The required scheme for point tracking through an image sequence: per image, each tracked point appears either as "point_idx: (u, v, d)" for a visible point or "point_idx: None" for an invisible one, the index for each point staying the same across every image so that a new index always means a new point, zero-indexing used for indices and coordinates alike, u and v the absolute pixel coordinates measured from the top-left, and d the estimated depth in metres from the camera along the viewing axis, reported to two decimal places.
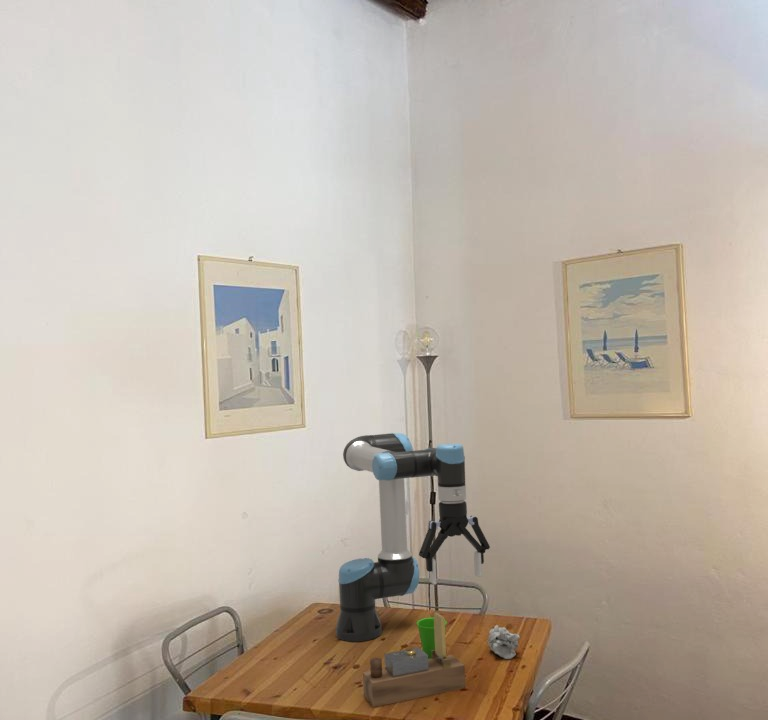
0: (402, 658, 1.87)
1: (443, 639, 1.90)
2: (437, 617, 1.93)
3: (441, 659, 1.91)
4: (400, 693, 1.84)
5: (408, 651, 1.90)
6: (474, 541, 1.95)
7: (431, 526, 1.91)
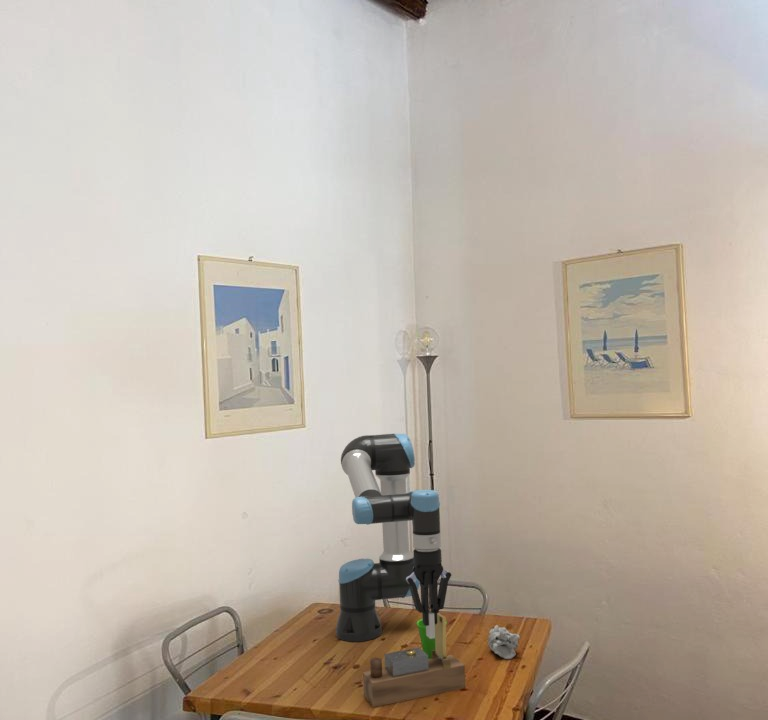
0: (402, 658, 1.87)
1: (444, 639, 1.90)
2: (438, 617, 1.93)
3: (441, 659, 1.91)
4: (400, 693, 1.84)
5: (408, 651, 1.90)
6: (435, 597, 1.91)
7: (408, 583, 1.90)
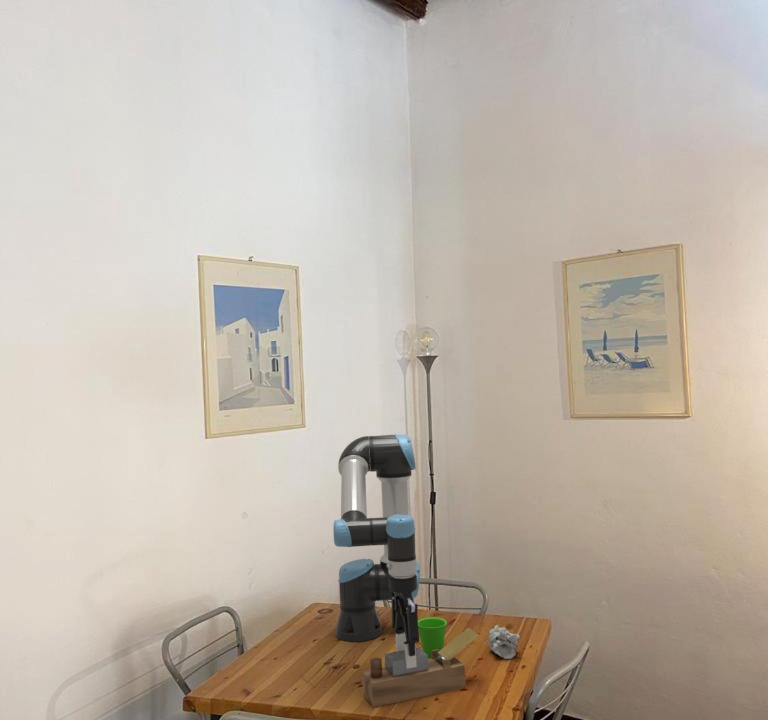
0: (402, 658, 1.87)
1: (461, 647, 1.92)
2: (471, 631, 1.96)
3: (443, 657, 1.91)
4: (400, 693, 1.84)
5: None
6: (405, 627, 1.86)
7: None
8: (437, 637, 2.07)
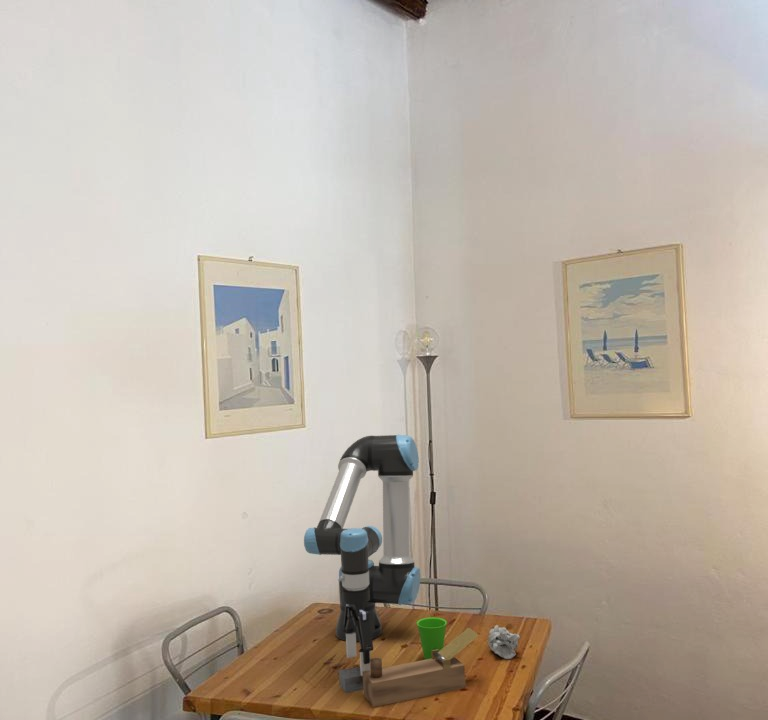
0: (355, 675, 1.93)
1: (461, 647, 1.92)
2: (471, 631, 1.96)
3: (443, 657, 1.91)
4: (400, 693, 1.84)
5: None
6: (358, 636, 1.90)
7: None
8: (437, 637, 2.07)
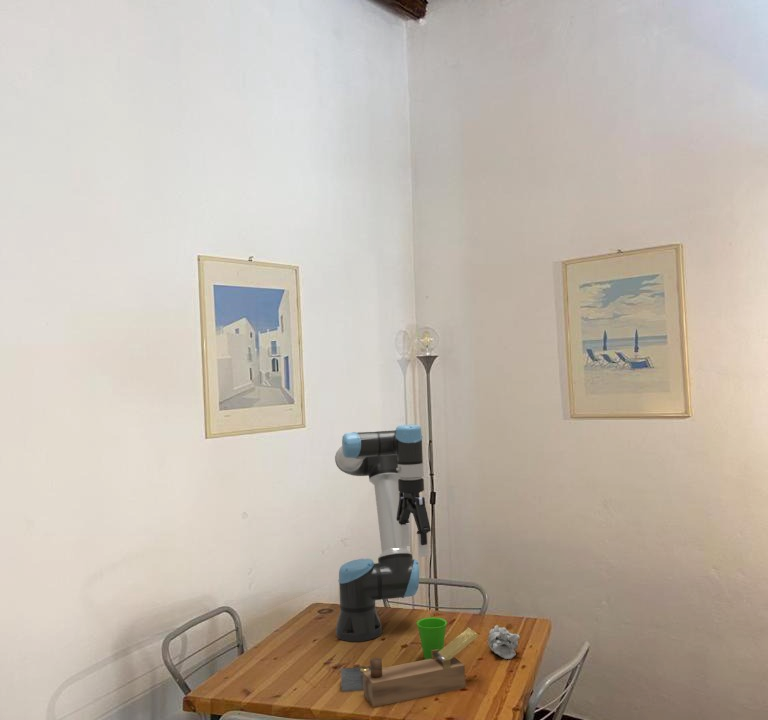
0: (353, 674, 1.93)
1: (461, 647, 1.92)
2: (471, 631, 1.96)
3: (443, 657, 1.91)
4: (400, 693, 1.84)
5: (362, 668, 1.95)
6: (415, 520, 2.03)
7: None
8: (437, 637, 2.07)
